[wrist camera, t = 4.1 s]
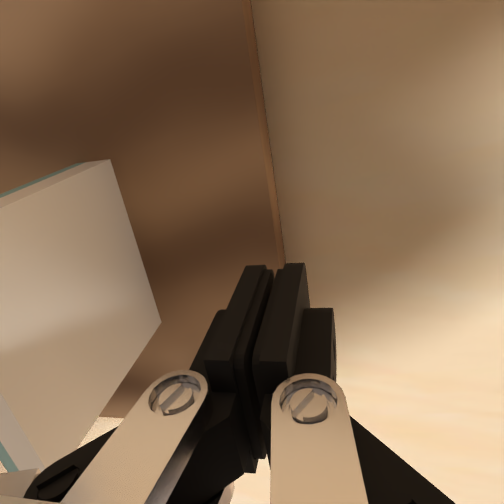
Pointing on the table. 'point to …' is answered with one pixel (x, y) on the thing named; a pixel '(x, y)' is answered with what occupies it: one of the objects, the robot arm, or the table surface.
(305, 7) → the table surface
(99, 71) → the board
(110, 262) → the tile
